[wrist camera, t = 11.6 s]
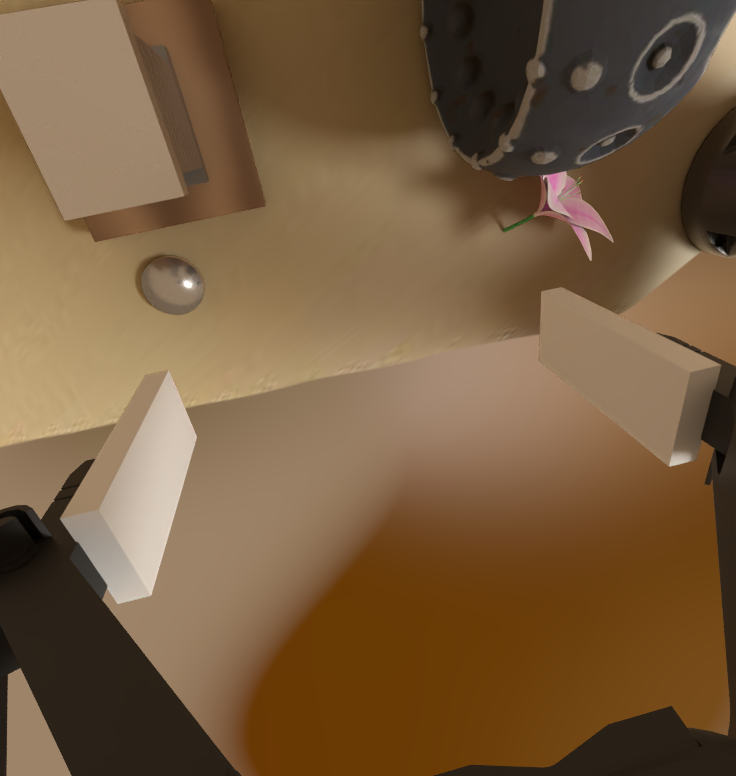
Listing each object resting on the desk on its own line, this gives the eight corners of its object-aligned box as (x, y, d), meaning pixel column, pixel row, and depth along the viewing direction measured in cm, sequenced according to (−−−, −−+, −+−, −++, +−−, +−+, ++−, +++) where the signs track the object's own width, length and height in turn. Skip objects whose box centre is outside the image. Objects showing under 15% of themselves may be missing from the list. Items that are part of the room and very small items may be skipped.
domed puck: (192, 248, 38) (190, 251, 38) (213, 303, 41) (212, 307, 40) (133, 262, 38) (130, 265, 37) (158, 317, 40) (156, 320, 40)
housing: (167, 49, 29) (114, -5, 19) (209, 180, 33) (184, 196, 23) (74, 65, 29) (-34, 20, 18) (128, 197, 33) (64, 220, 22)
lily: (574, 251, 46) (668, 218, 38) (497, 305, 42) (582, 282, 34) (525, 139, 44) (614, 76, 35) (439, 185, 40) (514, 127, 31)
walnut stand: (212, 3, 31) (207, -10, 28) (265, 202, 37) (265, 206, 35) (17, 36, 30) (-6, 25, 27) (107, 235, 36) (95, 241, 34)
